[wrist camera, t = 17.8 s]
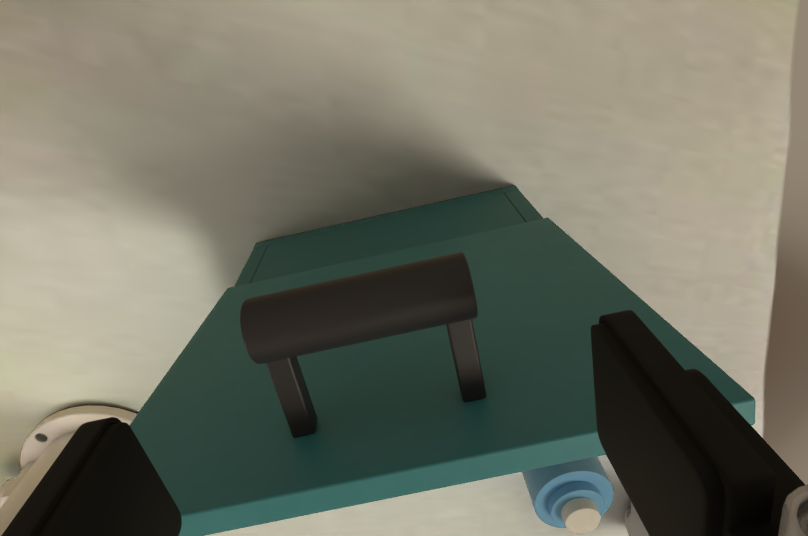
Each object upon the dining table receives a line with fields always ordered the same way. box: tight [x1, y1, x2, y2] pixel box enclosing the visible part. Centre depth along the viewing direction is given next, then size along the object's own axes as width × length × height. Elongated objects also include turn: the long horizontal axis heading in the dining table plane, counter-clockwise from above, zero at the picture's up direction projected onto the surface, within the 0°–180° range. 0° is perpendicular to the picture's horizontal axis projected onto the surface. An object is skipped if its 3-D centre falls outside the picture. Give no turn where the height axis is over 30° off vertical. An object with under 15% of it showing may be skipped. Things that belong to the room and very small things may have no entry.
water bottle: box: [522, 456, 614, 534], centre depth 41 cm, size 6×6×8 cm
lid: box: [129, 218, 755, 536], centre depth 20 cm, size 17×18×5 cm
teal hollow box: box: [234, 185, 543, 287], centre depth 36 cm, size 16×18×7 cm
